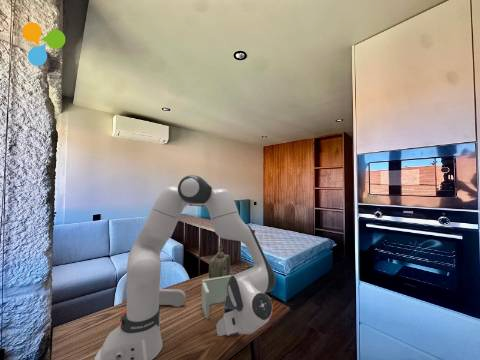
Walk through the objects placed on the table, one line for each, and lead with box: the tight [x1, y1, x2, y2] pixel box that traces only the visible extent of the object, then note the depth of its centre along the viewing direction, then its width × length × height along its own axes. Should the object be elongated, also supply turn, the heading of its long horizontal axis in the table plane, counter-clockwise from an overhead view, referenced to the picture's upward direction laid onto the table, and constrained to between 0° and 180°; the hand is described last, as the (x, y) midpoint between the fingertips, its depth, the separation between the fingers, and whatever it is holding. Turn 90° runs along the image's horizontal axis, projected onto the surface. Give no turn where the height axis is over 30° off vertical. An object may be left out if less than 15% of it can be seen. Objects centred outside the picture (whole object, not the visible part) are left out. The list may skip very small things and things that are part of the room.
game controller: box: [159, 288, 187, 308], centre depth 104 cm, size 20×2×8 cm, turn 89°
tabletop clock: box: [208, 243, 231, 279], centre depth 126 cm, size 14×9×25 cm, turn 164°
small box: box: [223, 296, 235, 315], centre depth 91 cm, size 11×6×10 cm, turn 179°
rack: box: [201, 274, 233, 319], centre depth 104 cm, size 20×12×13 cm, turn 111°
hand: (238, 327), depth 83 cm, fingers closed
